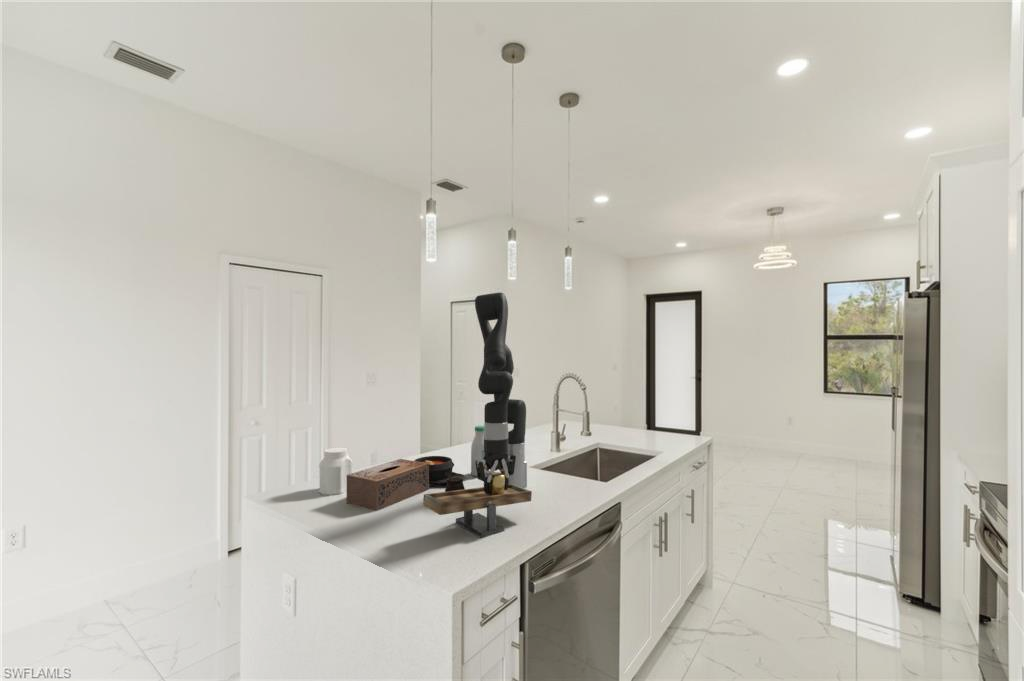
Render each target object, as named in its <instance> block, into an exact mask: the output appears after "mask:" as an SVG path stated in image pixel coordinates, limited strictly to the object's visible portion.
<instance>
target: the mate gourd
mask: <svg viewBox="0 0 1024 681" xmlns="http://www.w3.org/2000/svg"><path fill="white" fill-rule="evenodd" d="M445 473H446V472H445ZM446 475H447V476H448V477H449V478H448V479H447V483H446V487H445V489H444V492H447V491H455V490H464V489H466V488H465V486H464V483H463V482H464V477H463V478H462V477H459V476H454V477H450V476H449V475H448V474H447V473H446Z"/></svg>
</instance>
